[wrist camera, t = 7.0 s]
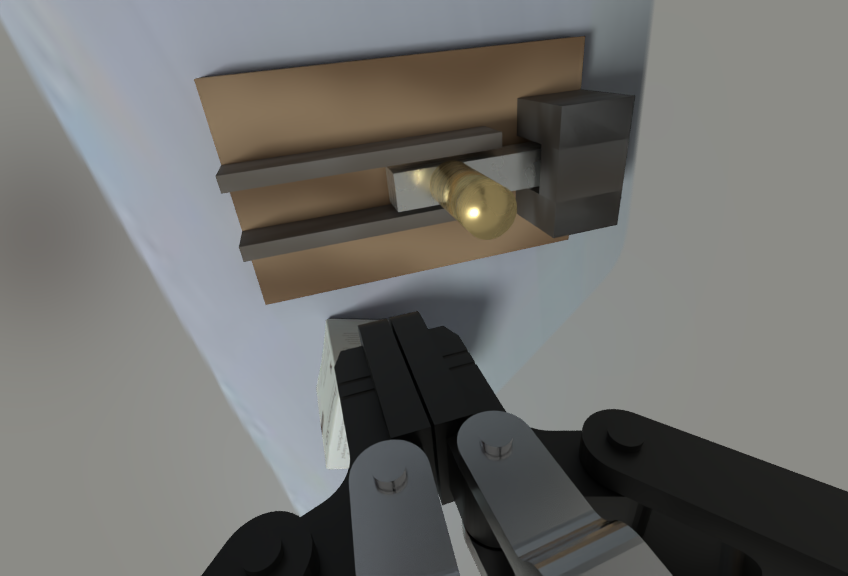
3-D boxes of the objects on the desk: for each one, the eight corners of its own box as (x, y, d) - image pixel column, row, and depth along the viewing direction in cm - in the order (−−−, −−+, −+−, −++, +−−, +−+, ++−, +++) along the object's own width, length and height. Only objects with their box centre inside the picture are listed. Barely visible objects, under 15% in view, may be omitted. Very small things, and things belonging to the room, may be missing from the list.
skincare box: (324, 316, 29) (337, 388, 22) (411, 319, 31) (445, 386, 25) (315, 389, 31) (324, 472, 25) (396, 387, 33) (423, 463, 27)
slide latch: (384, 161, 23) (420, 197, 17) (567, 132, 25) (655, 155, 19) (390, 204, 24) (426, 253, 18) (564, 173, 27) (647, 206, 21)
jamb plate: (199, 77, 21) (173, 84, 16) (569, 37, 25) (643, 32, 20) (266, 293, 27) (263, 348, 22) (556, 231, 31) (611, 266, 26)
